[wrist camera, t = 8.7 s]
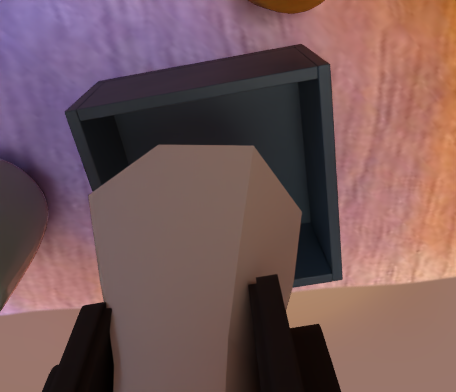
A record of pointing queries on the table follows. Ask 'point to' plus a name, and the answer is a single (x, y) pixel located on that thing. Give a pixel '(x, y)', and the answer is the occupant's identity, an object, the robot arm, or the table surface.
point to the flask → (190, 264)
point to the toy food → (287, 5)
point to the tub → (229, 131)
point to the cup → (18, 225)
